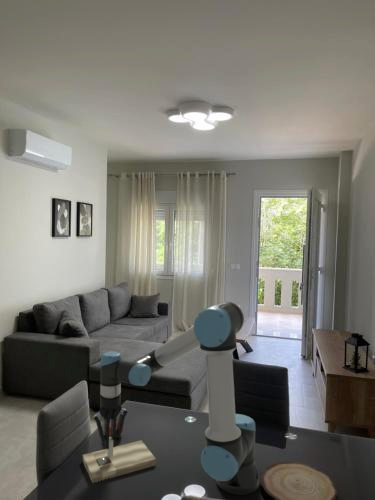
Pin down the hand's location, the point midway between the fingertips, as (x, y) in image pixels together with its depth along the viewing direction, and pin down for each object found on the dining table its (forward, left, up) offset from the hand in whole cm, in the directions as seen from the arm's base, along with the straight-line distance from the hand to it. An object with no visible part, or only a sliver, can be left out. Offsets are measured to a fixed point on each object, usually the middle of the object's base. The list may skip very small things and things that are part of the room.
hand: (110, 455), depth 148 cm
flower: (+19, -8, -4) cm, 21 cm away
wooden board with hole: (0, -4, -4) cm, 5 cm away
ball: (0, +3, -2) cm, 4 cm away
